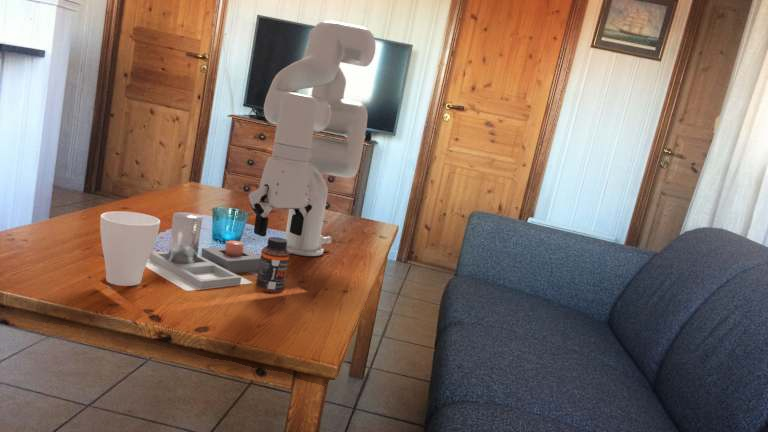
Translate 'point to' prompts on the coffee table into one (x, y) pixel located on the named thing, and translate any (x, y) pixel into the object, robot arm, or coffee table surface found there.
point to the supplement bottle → (273, 265)
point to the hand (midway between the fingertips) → (277, 234)
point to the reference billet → (184, 238)
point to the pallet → (193, 273)
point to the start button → (234, 248)
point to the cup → (127, 245)
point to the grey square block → (232, 260)
